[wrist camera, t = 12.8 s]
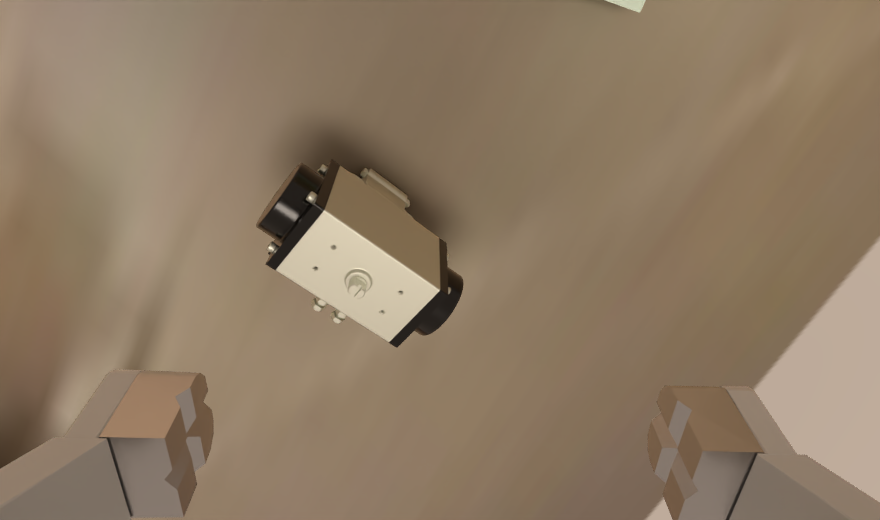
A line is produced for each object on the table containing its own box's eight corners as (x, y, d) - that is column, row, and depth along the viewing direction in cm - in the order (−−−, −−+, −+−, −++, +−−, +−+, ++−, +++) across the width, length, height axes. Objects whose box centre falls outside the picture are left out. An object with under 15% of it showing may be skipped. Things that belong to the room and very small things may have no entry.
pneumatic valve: (323, 119, 40) (286, 195, 30) (460, 222, 44) (469, 321, 34) (277, 180, 42) (227, 271, 32) (412, 273, 46) (406, 382, 36)
